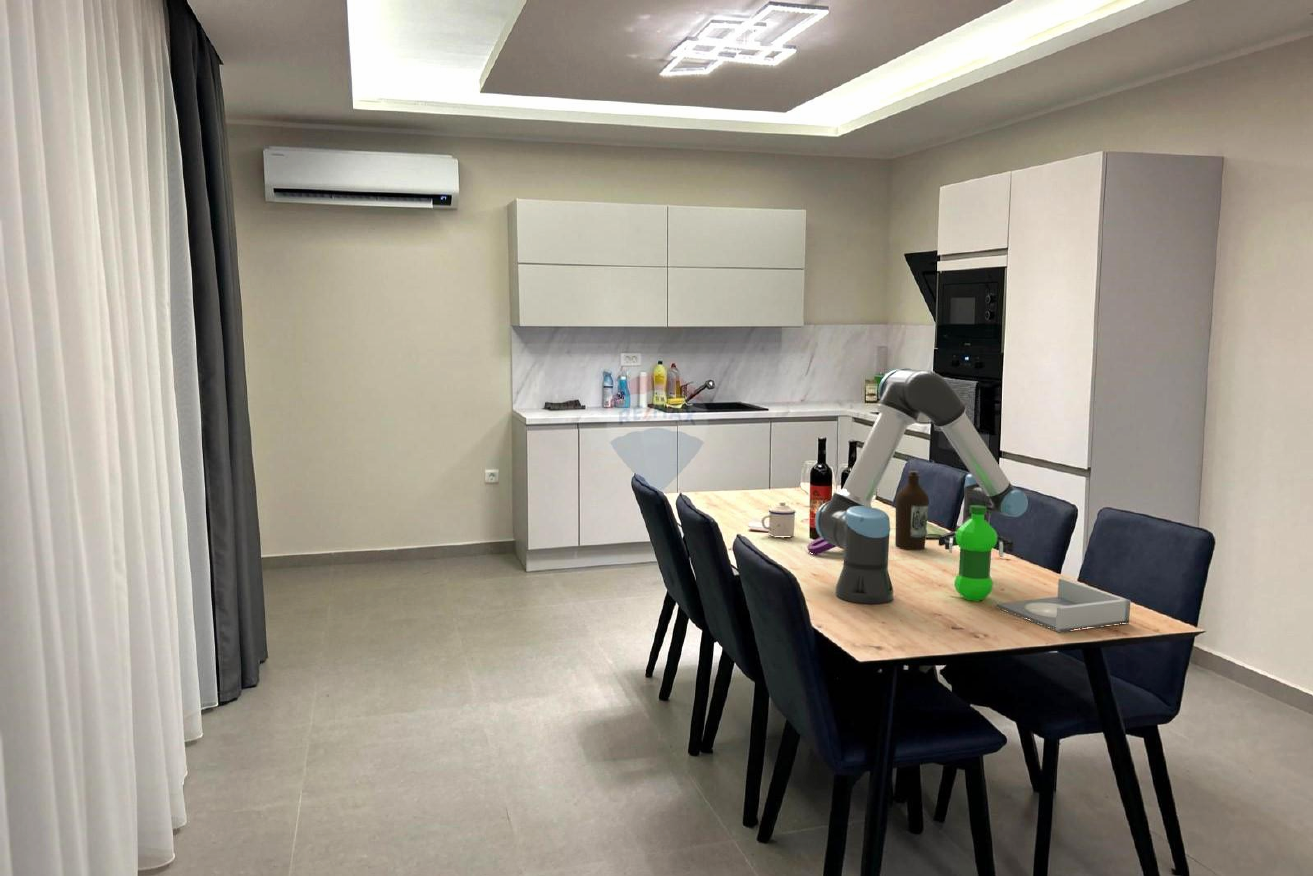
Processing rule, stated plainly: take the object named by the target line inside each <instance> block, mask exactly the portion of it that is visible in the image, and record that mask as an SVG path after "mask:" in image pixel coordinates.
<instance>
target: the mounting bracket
mask: <svg viewBox="0 0 1313 876" xmlns="http://www.w3.org/2000/svg"><path fill="white" fill-rule="evenodd" d="M836 547H837V546H834V545H831V544H829V543H827V542H826V541H825V540H824V539H822V538H821V537H820V536H819V537H818V538H816V539H814V540H812V541H811V542H810V543H808V544H807V547H806V548H807V550H808V553H810V552H811V553H813V554H815V555H820V554H822V553H825V552H827V551H830V550H832V549H834V548H836ZM813 554H812V555H813Z"/></svg>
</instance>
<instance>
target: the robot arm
mask: <svg viewBox="0 0 1313 876" xmlns="http://www.w3.org/2000/svg"><path fill="white" fill-rule="evenodd" d="M878 385H879V386H878V391H877V392H878V395H879V396H878V399H879V401H878V403H877V405H876V408H877V410H878V415H877V416H876V418H875V421H874V422H873V423H874V424H872V427H871V429H870V432H869V434H868V436H867V437H866V439H865V442H864V443H863V446H862V447H861V450H860V452H859V454H858V455H857V458H856V461H855V462H854V465H853V466H852V468H851V470H850V472H849V474H848V477H847V478H846V480H845V483H844V485H843V487H842V488H841V489H839V490H837V491H835V492H833V495H832V497H831V499H830V500H829V501H826V502H825V503H822V504H821V505H820V507H819V508H818V509H817V511H816V514H815V517H814V527H815V529H816V530H815V531H816V532H817V534H818V536H819V538H820V537H821V538H822V539H824V540H825V541H826V542H827V543H829V544H831V545H834V546H836V547H838V548H839V549H842V550H843V566H842V569H841V572H840V575H839V577H838V580H837V583H836V585H835V596H837V597H838V598H839V599H841V600H844V601H846V602H852V603H858V604H868V605H869V604H877V605H878V604H885V603H888V602H891V601H892V600H893V599H894V587H893V584H892V581H891V576H890V574H889V554H890V553H889V548H890V532H891V522H890V516H889V515H888V513H887V512H885V511H884V510H883V509H879V508H877V507H872V504H871V502H872V500H873V499H874V495H875V494H876V492H877V490H878V488H879V485H880V484H881V482H882V480H883V477H884V475H885V474H886V471H887V469H888V467H889V465H890V463H891V461H892V459H893V457H894V455H895V452H896V450H897V449H898V447H899V445H900V442H901V440H902V438H903V436H904V434H905V432H906V430H907V428H908V427H909V426H911V425H915V424H916V422H917V421H918V419H919V417H920V415H921V414H922V415H924V416H926V417H927V418H928V419H929V420H930V421H931V423H932V425H933V426H934V427H935V428H939V429H941V431H942V432H943V434H944V435H945V437H946V438H947V439H948V442H950V444H951V446H952V447H953V448H954V450H955V452H956V453H957V455H958V456H959V458H960V459H961V461H962V462H963V465H965V466H966V468H967V470H968V471H969V473H967V475H966V476H965V481H964V486H963V490H964V491H963V510H962V511H963V512H962V521H961V523H962V525H963V524H965V523H966V522H967V521H969V520H970V519H971V513H969V510H970V506H971V505H981V506H985V507H987V510H986V514H985V515H984V520H985V521H986V522H987V523H988V524H989V525H990V526H991V523H990V521H991V511H992V512H995V513H997V514H1000V515H1003V516H1006V517H1013V518H1017V517H1020V516H1022V515H1023V514H1024V513H1025V512H1026V510H1027V509H1028V505H1029V501H1028V497H1027V495H1026V493H1024V492H1022V491H1021V490H1019V489H1016V488H1014V486H1013V485H1012V484H1011V482H1010V480H1009V479H1008V478H1007V476H1006V474H1005V472H1003V469H1002V468H1001V467H1000V464H998V463H999V462H998V461H997V460H996V458H995V457H994V456H993V453H992V452H991V451H990V450H989V448H988V446H987V445H986V443H985V442H984V440H983V439H982V437H981V435H980V434H979V432H978V431H977V429H976V428H975V426H974V425H973V424H972V421H971V420H970V418H969V417H968V415H967V413H966V411H967V407H966V405H965V403H964V402H963V400H962V399H961V398H960V396H959V394H958V393H957V392H956V391H955V389H954V388H953V387H952V385H951V384H950V383H949V382H948V381H947V380H946V379H945V378H944V377H943V376H942V375H940V374H938V373H936V372H934V371H931V370H920V369H919V370H918V369H912V368H907V367H905V368H898V369H893V370H891V371H889V372H888V373H886V374H885V375H884V377H883V378H881V381H880V383H879V384H878ZM962 525H961V526H962ZM956 532H957V531H954V530H951V531H949V532H948V533H947V534H944V535H941V536H939V538H938V546H940V547H941V546H942V547H943V546H944V549H945V550H948V554H952V553H953V547H955V546H959V545H958V544H957V543H956ZM1014 548H1015V542H1013V541H1011V540H1010V539H1008V538H1007V537H1004V536H1003V535H1002V534H997V542H996V546H995V547H994V548H993V549H994V550H998V554H999V555H998V556H999V558H1003V557H1004V553H1007V552H1010V553H1013V552H1014V550H1015V549H1014Z"/></svg>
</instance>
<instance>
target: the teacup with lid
mask: <svg viewBox="0 0 1313 876" xmlns="http://www.w3.org/2000/svg"><path fill="white" fill-rule="evenodd" d="M768 512H769V514H767V515H764V516H762V518H761V521H760V523H761V526H762V528H763V529H765V530H766V531H767V530H768V534H769V533H770V534H771V535H773V536H793V535H794V536H795V519H796V518H795V516H796V509H794V508H793V507H790V506H789V505H787V504H786V502H785V501H779V503H778V504H777V505H776V504H775V506H773V507H770V508H769V510H768ZM767 518H768V527H767V526H766V525H765V524H766V523H765V520H766V519H767ZM794 536H793V537H794Z"/></svg>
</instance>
